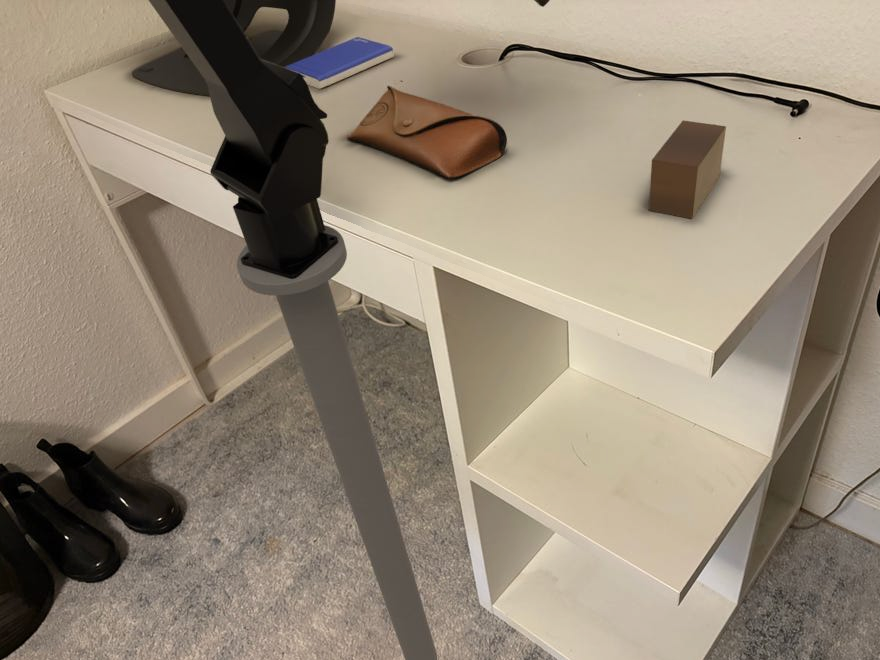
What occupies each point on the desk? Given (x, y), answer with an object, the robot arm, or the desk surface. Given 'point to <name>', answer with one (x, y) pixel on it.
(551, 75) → the desk surface
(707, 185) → the walnut block
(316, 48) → the laptop stand
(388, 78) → the desk surface
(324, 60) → the hard drive
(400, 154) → the sunglasses case
